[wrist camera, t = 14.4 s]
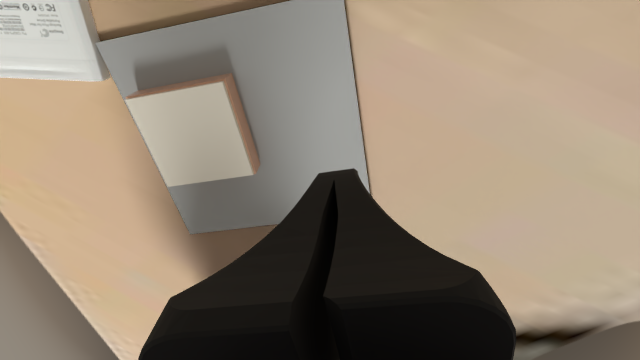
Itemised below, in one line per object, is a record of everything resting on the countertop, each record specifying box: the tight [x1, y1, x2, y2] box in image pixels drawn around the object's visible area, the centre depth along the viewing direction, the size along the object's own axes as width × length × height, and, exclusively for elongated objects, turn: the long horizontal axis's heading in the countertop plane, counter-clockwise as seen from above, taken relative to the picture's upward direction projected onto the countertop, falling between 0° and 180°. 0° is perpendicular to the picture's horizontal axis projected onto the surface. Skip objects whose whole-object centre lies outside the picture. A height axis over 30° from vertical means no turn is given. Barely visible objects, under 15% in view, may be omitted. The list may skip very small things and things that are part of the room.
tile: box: [125, 73, 260, 187], centre depth 20 cm, size 6×2×6 cm
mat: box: [96, 0, 370, 234], centre depth 21 cm, size 14×14×1 cm
